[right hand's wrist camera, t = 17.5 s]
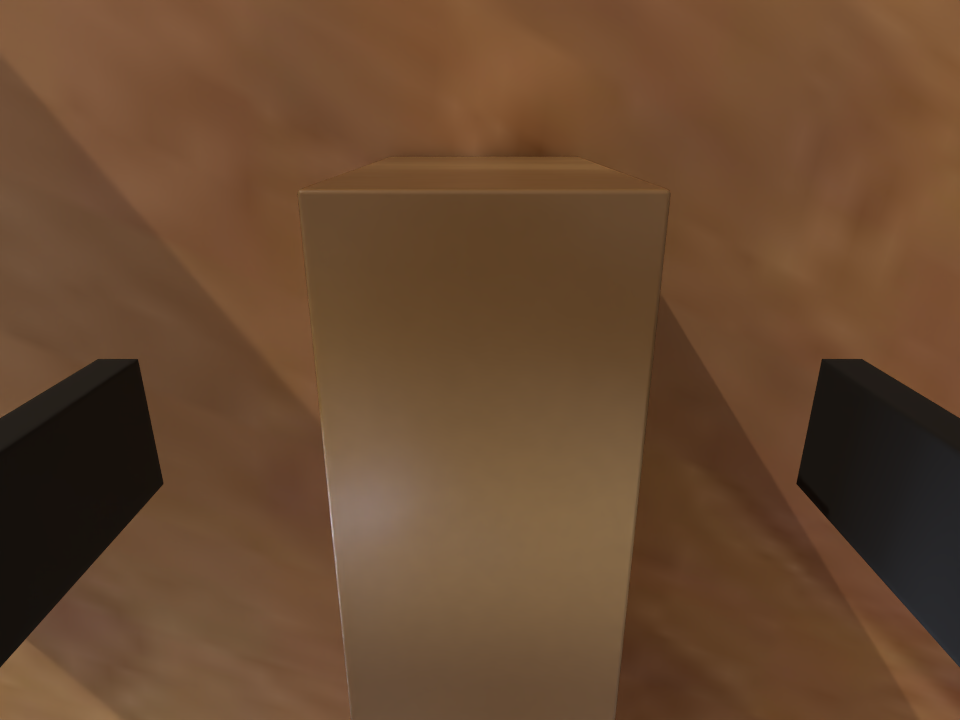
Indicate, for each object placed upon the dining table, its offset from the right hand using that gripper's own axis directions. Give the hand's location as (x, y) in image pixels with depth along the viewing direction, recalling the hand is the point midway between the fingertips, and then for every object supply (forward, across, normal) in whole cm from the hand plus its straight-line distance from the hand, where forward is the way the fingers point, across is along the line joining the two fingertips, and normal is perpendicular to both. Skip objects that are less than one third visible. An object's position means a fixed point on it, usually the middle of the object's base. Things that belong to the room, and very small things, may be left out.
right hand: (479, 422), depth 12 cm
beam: (+5, 0, -31) cm, 32 cm away
